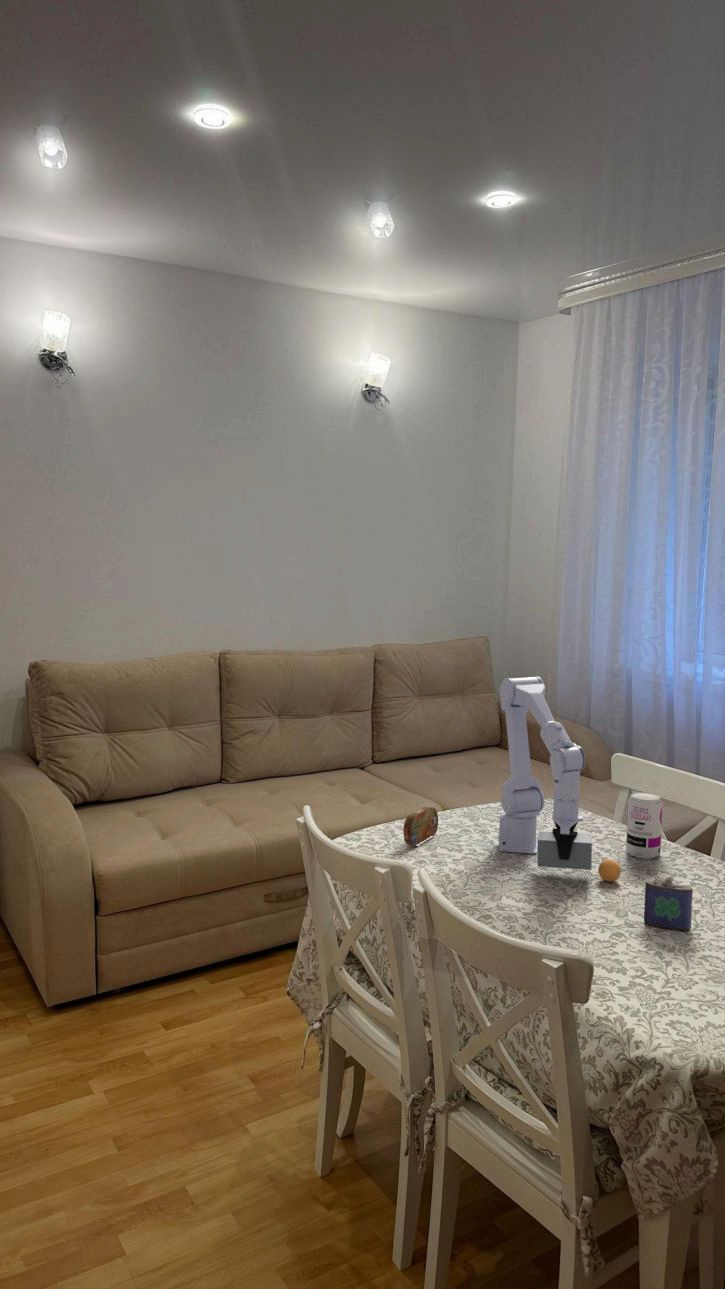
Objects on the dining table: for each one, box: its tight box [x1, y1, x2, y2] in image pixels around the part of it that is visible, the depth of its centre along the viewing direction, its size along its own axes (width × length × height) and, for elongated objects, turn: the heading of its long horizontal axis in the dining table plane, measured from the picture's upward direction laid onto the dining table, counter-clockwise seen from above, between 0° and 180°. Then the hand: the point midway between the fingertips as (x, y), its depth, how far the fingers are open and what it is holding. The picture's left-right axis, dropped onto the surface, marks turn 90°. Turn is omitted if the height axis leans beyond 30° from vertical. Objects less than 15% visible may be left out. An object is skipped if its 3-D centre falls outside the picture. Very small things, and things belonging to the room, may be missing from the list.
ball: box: [597, 859, 622, 883], centre depth 211 cm, size 5×5×5 cm
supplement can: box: [625, 791, 663, 860], centre depth 228 cm, size 8×8×15 cm
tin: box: [403, 806, 439, 847], centre depth 237 cm, size 15×3×8 cm, turn 148°
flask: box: [643, 876, 694, 933], centre depth 186 cm, size 9×3×11 cm, turn 68°
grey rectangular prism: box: [536, 830, 593, 871], centre depth 213 cm, size 12×6×6 cm, turn 77°
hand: (564, 854), depth 213 cm, fingers closed on grey rectangular prism, 6 cm apart
